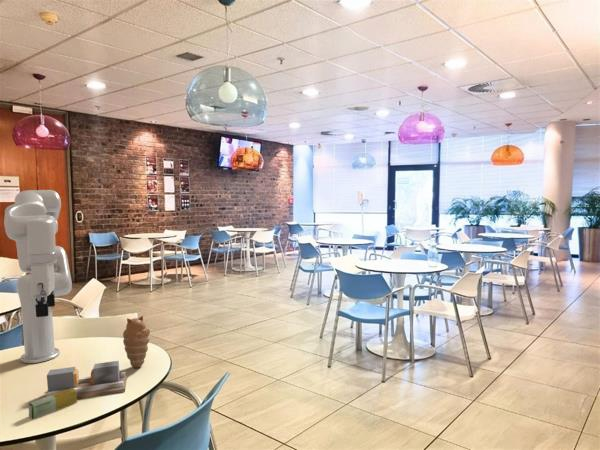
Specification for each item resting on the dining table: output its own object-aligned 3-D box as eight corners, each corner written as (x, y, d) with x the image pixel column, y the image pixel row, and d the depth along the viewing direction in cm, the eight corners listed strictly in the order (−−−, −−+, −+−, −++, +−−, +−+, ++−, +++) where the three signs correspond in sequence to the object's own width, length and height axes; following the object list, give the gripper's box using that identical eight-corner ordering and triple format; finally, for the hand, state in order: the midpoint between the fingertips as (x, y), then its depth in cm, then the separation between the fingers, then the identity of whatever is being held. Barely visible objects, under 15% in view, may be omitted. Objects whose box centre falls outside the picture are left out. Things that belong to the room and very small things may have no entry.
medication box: (31, 420, 116) (30, 406, 116) (28, 417, 118) (27, 403, 117) (77, 403, 125) (77, 390, 125) (73, 400, 127) (73, 387, 127)
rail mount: (43, 404, 124) (41, 381, 124) (52, 386, 136) (51, 365, 135) (124, 391, 131) (123, 369, 131) (127, 375, 143) (126, 355, 142)
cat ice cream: (127, 374, 143) (124, 322, 142) (121, 366, 150) (118, 316, 148) (154, 367, 149) (151, 317, 147) (147, 360, 155) (144, 311, 153)
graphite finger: (51, 388, 132) (49, 370, 131) (79, 384, 134) (78, 366, 134) (48, 394, 128) (46, 375, 127) (77, 390, 130) (75, 371, 130)
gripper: (35, 253, 140) (38, 304, 142) (20, 264, 123) (24, 321, 126) (61, 252, 142) (64, 302, 144) (50, 263, 126) (53, 319, 128)
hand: (46, 311), depth 135 cm, fingers open, 9 cm apart
